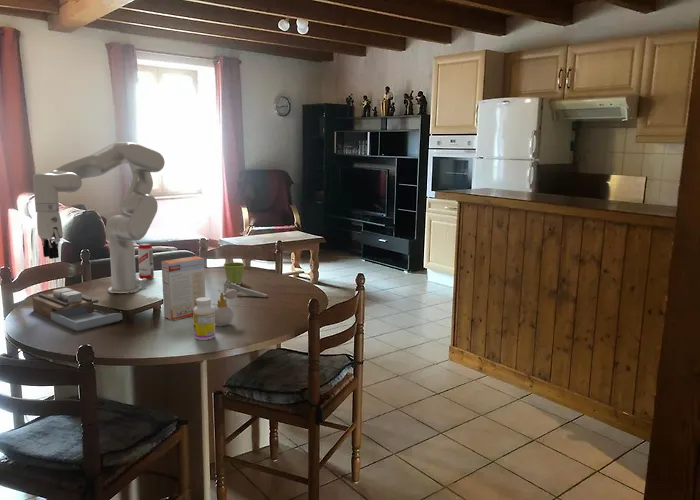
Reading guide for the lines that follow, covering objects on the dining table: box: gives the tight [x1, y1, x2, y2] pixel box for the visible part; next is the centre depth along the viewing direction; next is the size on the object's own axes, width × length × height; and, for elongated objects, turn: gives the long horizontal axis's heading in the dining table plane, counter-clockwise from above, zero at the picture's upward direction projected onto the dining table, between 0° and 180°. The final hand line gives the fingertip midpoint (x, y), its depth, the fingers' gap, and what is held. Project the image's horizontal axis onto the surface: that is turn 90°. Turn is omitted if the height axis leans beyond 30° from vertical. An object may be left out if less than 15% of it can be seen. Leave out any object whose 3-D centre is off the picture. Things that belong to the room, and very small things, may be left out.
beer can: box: [137, 242, 155, 281], centre depth 253 cm, size 6×6×16 cm
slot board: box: [31, 293, 99, 319], centre depth 202 cm, size 14×20×6 cm
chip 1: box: [52, 287, 75, 301], centre depth 202 cm, size 5×5×3 cm
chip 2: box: [61, 290, 83, 304], centre depth 199 cm, size 5×5×3 cm
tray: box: [50, 306, 123, 333], centre depth 194 cm, size 16×18×3 cm
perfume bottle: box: [214, 288, 239, 327], centre depth 193 cm, size 8×10×12 cm
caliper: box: [223, 278, 268, 296], centre depth 230 cm, size 20×1×6 cm, turn 75°
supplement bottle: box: [192, 296, 216, 341], centre depth 179 cm, size 7×7×13 cm
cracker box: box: [161, 255, 207, 321], centre depth 200 cm, size 14×6×21 cm, turn 135°
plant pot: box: [223, 261, 246, 284], centre depth 249 cm, size 9×9×9 cm
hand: (51, 256), depth 204 cm, fingers open, 3 cm apart
